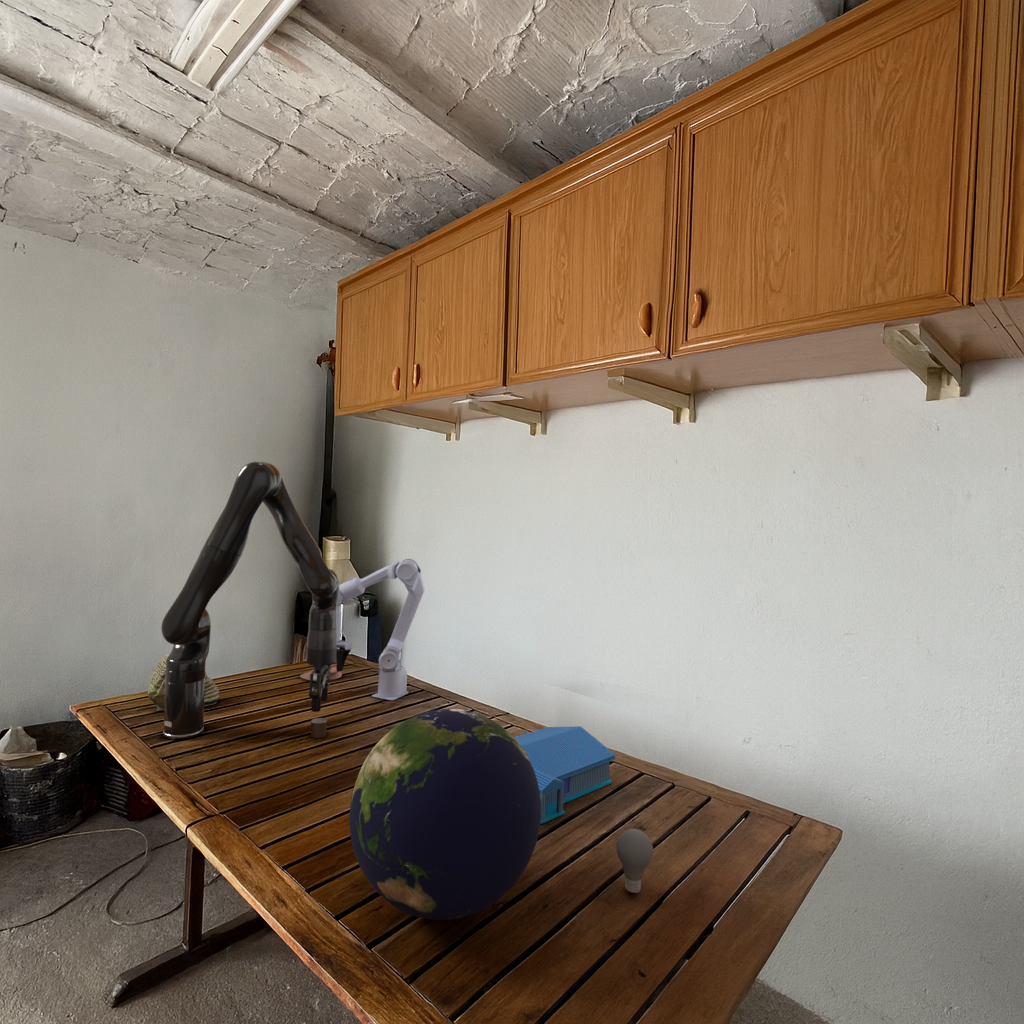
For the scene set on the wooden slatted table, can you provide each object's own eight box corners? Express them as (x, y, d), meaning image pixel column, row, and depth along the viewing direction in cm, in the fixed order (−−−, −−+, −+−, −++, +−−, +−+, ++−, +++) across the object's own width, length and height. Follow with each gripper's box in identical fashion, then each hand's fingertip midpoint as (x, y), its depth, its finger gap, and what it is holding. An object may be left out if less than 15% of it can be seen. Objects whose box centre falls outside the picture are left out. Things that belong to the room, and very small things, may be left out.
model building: (493, 845, 118) (495, 791, 117) (419, 795, 136) (421, 749, 136) (624, 787, 144) (626, 744, 144) (547, 752, 162) (548, 713, 162)
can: (308, 734, 168) (309, 719, 168) (323, 731, 170) (323, 716, 170) (313, 739, 165) (314, 723, 165) (328, 736, 167) (328, 721, 167)
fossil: (144, 707, 182) (145, 655, 182) (212, 696, 194) (213, 647, 194) (151, 716, 175) (153, 662, 175) (221, 703, 188) (223, 653, 188)
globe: (303, 931, 92) (311, 727, 92) (410, 834, 120) (417, 677, 120) (490, 1000, 81) (500, 768, 81) (561, 876, 109) (569, 702, 108)
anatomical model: (295, 667, 216) (312, 659, 227) (295, 679, 216) (312, 670, 227) (331, 671, 213) (346, 663, 224) (330, 683, 213) (346, 674, 224)
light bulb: (610, 879, 108) (613, 822, 108) (644, 879, 109) (647, 822, 109) (619, 902, 102) (622, 840, 102) (655, 901, 103) (658, 840, 103)
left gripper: (330, 651, 160) (328, 715, 161) (341, 639, 174) (339, 697, 175) (300, 651, 160) (298, 715, 160) (313, 638, 174) (311, 697, 174)
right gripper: (304, 625, 201) (303, 668, 201) (342, 631, 195) (340, 675, 195) (320, 622, 207) (318, 663, 207) (356, 627, 201) (354, 670, 202)
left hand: (319, 706), depth 167 cm, fingers open, 8 cm apart
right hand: (330, 669), depth 202 cm, fingers open, 7 cm apart
